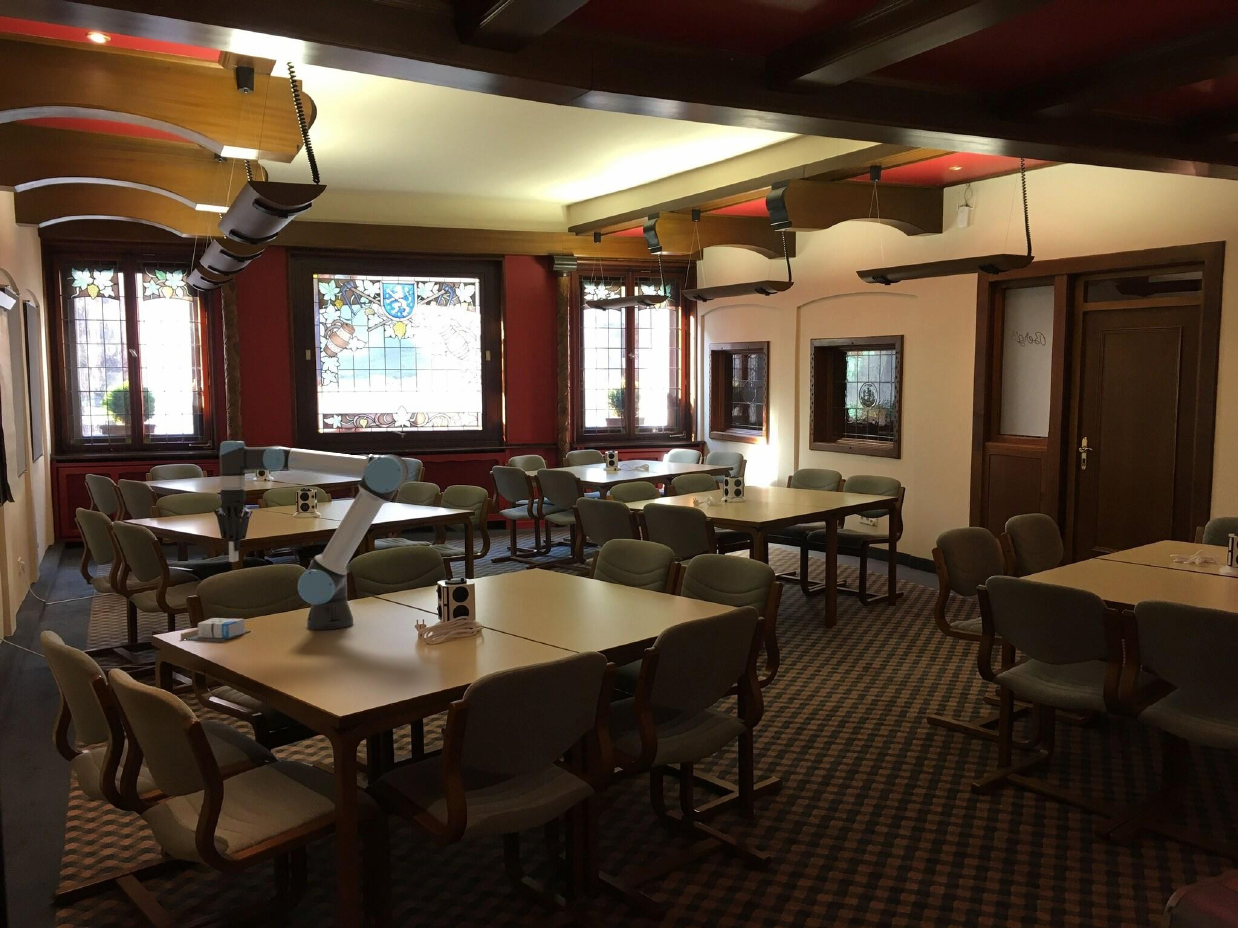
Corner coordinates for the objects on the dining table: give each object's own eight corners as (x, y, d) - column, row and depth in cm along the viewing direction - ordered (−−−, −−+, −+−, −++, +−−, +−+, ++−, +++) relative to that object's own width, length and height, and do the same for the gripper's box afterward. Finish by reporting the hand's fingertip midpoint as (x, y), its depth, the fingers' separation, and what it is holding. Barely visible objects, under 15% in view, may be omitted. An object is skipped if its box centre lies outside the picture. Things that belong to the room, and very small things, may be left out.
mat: (250, 631, 317) (250, 625, 317) (219, 642, 302) (219, 635, 302) (213, 629, 321) (213, 623, 321) (180, 639, 307) (180, 633, 307)
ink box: (228, 623, 305) (196, 622, 307) (229, 639, 305) (197, 637, 307) (244, 618, 313) (213, 616, 316) (245, 632, 313) (213, 631, 316)
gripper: (257, 488, 309) (258, 560, 310) (223, 487, 312) (224, 558, 313) (242, 489, 302) (243, 563, 303) (207, 489, 305) (209, 561, 306)
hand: (233, 561), depth 308 cm, fingers closed
